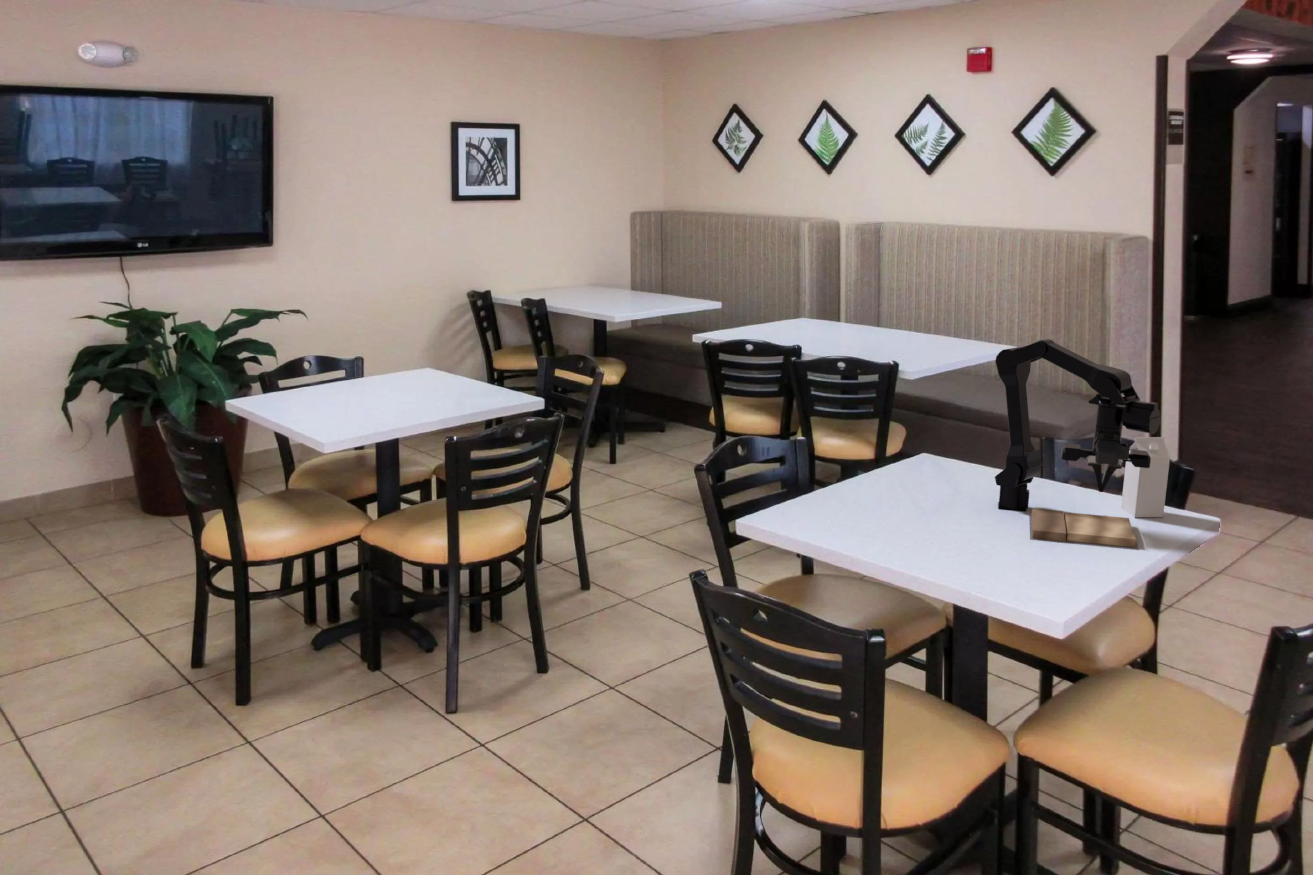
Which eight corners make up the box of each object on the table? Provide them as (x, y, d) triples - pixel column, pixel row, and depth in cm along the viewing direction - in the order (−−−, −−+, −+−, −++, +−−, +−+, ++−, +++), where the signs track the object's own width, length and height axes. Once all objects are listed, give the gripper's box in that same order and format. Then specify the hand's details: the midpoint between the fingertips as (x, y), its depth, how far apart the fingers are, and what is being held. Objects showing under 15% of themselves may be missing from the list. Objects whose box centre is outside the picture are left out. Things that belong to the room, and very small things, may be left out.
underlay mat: (1029, 541, 249) (1030, 539, 249) (1029, 516, 268) (1029, 515, 267) (1138, 551, 242) (1139, 549, 242) (1130, 525, 261) (1130, 524, 261)
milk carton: (1120, 509, 274) (1128, 434, 270) (1148, 509, 275) (1157, 434, 271) (1134, 518, 267) (1143, 440, 263) (1163, 517, 268) (1172, 440, 264)
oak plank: (1066, 540, 248) (1067, 532, 248) (1064, 519, 264) (1064, 512, 263) (1134, 547, 244) (1135, 539, 243) (1127, 525, 260) (1128, 517, 259)
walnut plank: (1032, 538, 250) (1033, 530, 249) (1031, 516, 266) (1032, 508, 266) (1065, 541, 248) (1066, 533, 247) (1062, 519, 264) (1063, 511, 264)
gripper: (1066, 429, 249) (1058, 496, 252) (1156, 437, 243) (1147, 505, 247) (1065, 419, 259) (1057, 483, 263) (1152, 426, 253) (1143, 492, 257)
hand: (1100, 491), depth 257 cm, fingers closed
